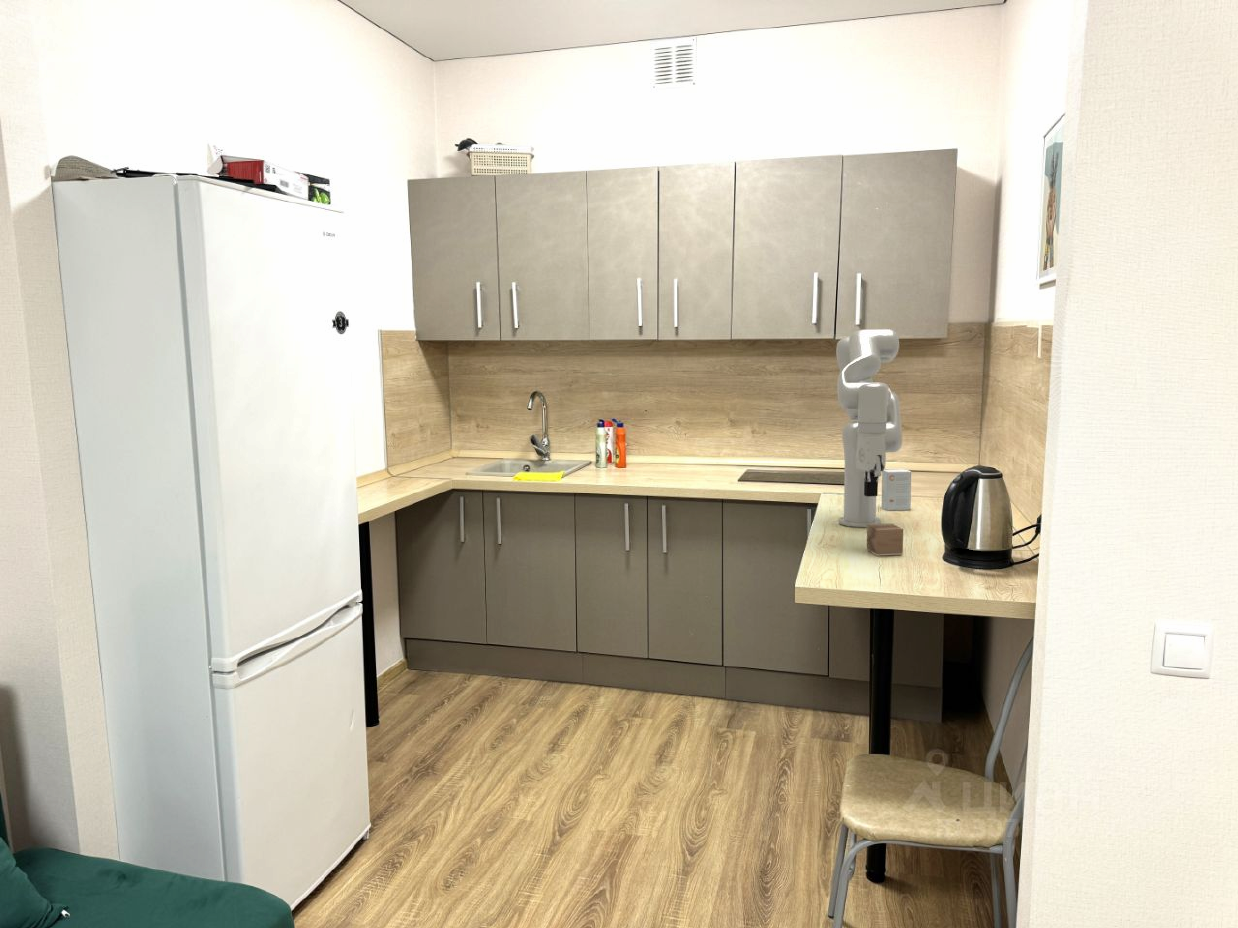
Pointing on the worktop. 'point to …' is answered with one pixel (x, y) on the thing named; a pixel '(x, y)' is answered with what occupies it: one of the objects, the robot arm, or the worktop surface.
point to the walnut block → (885, 539)
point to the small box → (896, 489)
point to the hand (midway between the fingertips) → (870, 495)
